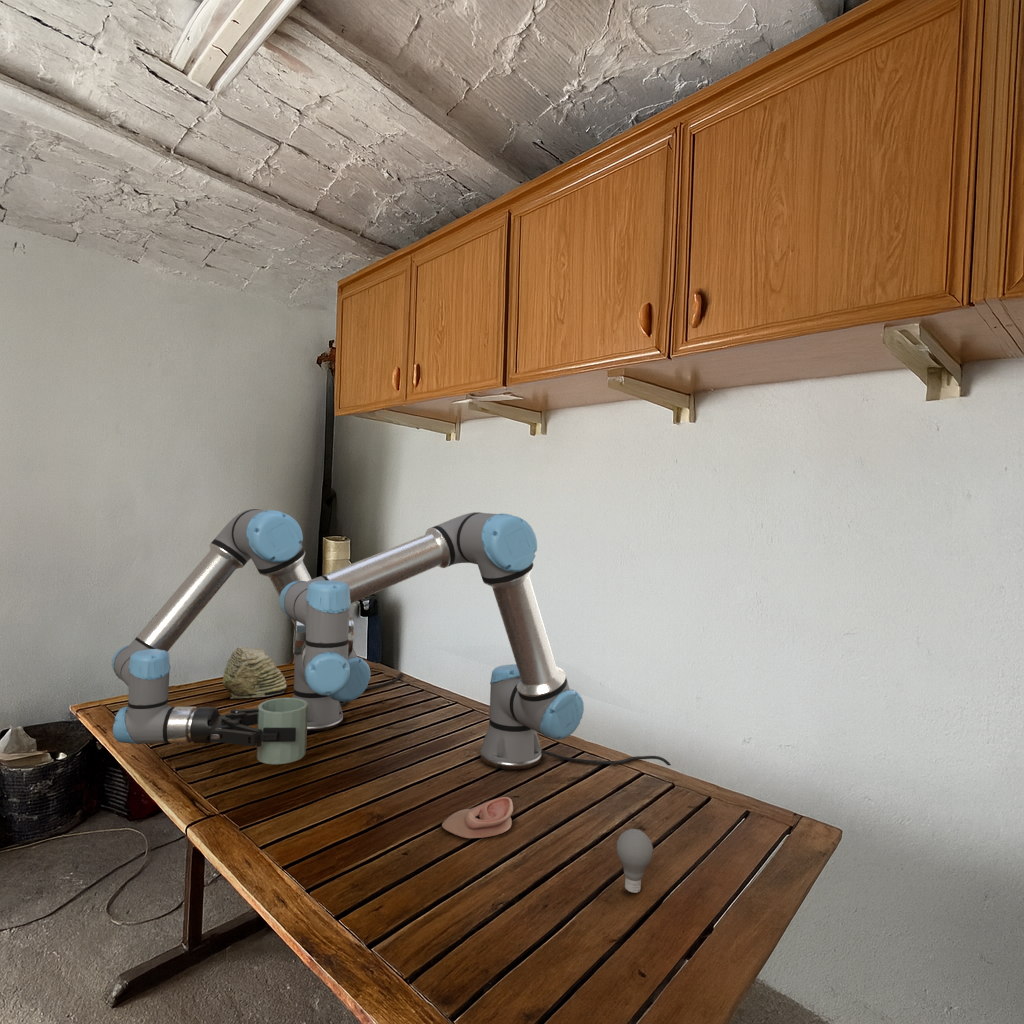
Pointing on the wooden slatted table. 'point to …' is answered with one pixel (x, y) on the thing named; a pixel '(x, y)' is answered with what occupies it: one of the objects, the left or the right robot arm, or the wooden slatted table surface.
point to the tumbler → (301, 636)
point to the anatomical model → (481, 819)
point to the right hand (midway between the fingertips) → (314, 631)
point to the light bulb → (634, 857)
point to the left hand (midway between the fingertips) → (301, 725)
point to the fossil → (252, 674)
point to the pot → (283, 716)
